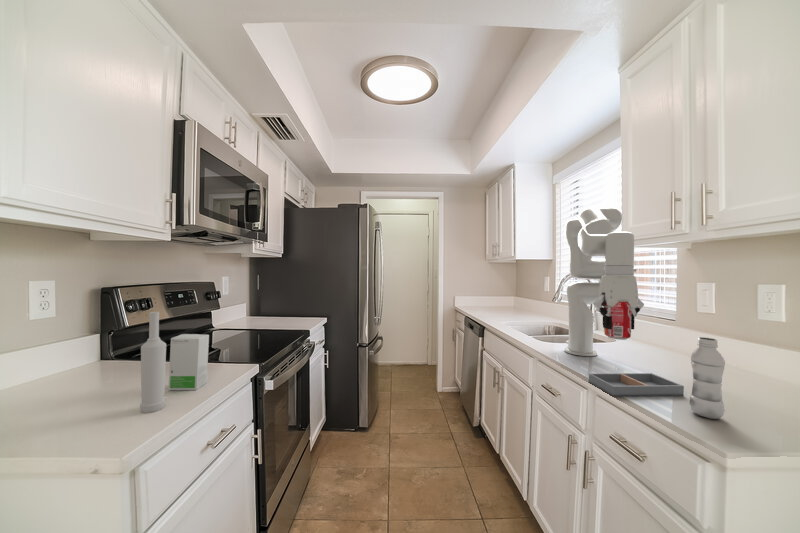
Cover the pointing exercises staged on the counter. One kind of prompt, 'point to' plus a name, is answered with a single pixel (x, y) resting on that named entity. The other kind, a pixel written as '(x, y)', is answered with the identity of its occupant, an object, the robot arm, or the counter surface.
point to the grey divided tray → (635, 384)
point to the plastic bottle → (707, 379)
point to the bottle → (153, 368)
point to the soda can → (620, 321)
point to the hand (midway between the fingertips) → (618, 328)
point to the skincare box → (188, 362)
